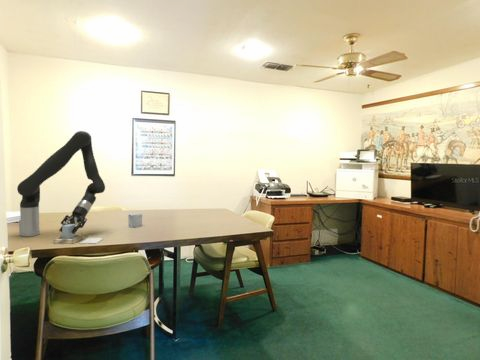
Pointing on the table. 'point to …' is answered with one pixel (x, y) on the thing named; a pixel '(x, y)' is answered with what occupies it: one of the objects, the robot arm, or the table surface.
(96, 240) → the mat
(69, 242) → the well board
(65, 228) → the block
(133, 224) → the medicine box
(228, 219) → the table surface
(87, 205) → the robot arm
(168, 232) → the table surface
